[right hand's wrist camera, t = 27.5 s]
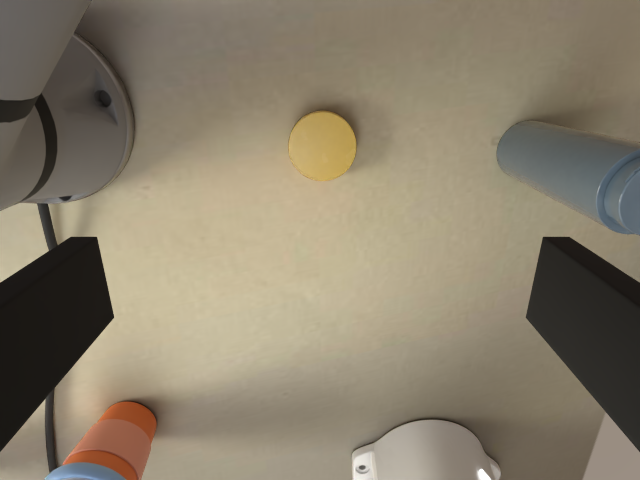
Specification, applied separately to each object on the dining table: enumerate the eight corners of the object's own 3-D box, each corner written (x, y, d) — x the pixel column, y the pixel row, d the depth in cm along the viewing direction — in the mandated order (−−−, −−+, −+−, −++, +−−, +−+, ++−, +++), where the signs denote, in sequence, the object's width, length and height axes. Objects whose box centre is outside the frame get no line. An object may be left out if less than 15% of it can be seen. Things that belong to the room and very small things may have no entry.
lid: (288, 174, 39) (287, 178, 37) (290, 108, 37) (289, 109, 35) (352, 178, 39) (353, 182, 37) (358, 112, 37) (359, 114, 35)
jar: (567, 140, 38) (732, 183, 23) (527, 188, 39) (656, 258, 24) (523, 108, 37) (665, 131, 22) (484, 159, 38) (591, 214, 23)
